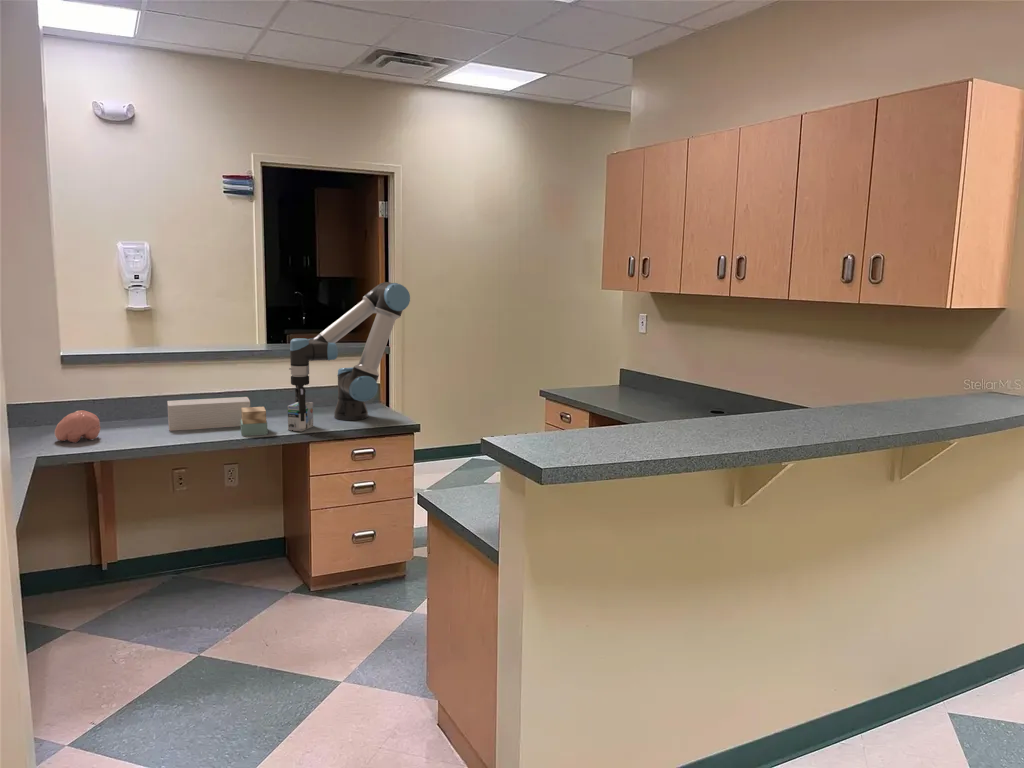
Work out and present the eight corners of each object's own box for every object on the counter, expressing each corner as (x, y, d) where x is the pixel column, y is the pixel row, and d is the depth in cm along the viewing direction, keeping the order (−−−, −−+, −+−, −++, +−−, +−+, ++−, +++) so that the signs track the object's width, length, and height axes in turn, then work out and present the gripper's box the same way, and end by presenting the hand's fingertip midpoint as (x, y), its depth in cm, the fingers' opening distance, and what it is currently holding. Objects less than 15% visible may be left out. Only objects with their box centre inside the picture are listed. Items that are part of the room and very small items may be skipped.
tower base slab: (265, 429, 312) (265, 418, 311) (267, 435, 303) (267, 423, 302) (240, 430, 308) (240, 419, 307) (241, 436, 299) (241, 424, 298)
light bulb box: (302, 431, 308) (301, 406, 306) (287, 430, 310) (286, 405, 308) (313, 426, 319) (313, 401, 317) (299, 425, 320) (299, 400, 318)
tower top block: (264, 418, 310) (264, 406, 310) (266, 422, 302) (265, 410, 301) (241, 419, 307) (241, 407, 306) (243, 424, 299) (242, 412, 298)
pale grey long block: (248, 420, 326) (247, 396, 324) (250, 425, 317) (250, 401, 315) (168, 425, 313) (167, 400, 311) (169, 431, 303) (167, 405, 301)
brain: (61, 455, 278) (44, 427, 274) (68, 446, 290) (51, 419, 286) (104, 436, 282) (87, 408, 278) (109, 428, 294) (93, 401, 290)
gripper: (288, 370, 320) (289, 419, 324) (293, 380, 298) (294, 432, 301) (305, 370, 323) (306, 418, 326) (312, 379, 300) (313, 431, 304)
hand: (300, 425), depth 314 cm, fingers closed on light bulb box, 12 cm apart
